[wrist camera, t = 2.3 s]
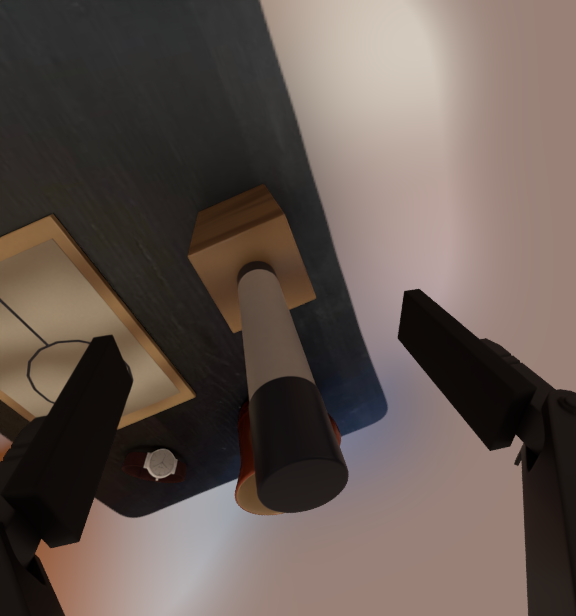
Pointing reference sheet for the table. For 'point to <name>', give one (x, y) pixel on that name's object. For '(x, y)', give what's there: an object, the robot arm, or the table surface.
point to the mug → (247, 480)
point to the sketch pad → (69, 326)
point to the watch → (155, 466)
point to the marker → (284, 403)
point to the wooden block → (246, 250)
